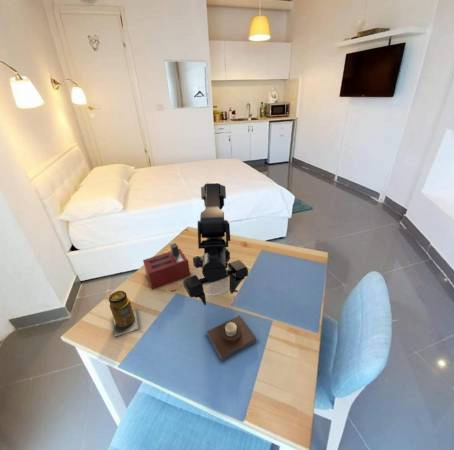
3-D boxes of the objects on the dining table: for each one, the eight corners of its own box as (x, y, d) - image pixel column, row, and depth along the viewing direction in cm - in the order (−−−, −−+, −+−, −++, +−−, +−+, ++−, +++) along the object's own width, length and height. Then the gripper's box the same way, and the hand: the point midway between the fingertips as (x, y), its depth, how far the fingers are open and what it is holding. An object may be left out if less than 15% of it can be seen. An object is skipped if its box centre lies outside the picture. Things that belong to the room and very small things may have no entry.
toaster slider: (176, 250, 108) (175, 243, 106) (179, 254, 106) (177, 246, 104) (171, 252, 107) (170, 244, 105) (173, 255, 105) (172, 248, 103)
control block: (239, 320, 85) (239, 311, 83) (256, 342, 78) (256, 333, 76) (207, 335, 80) (206, 327, 78) (221, 361, 73) (221, 353, 71)
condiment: (135, 310, 90) (127, 285, 84) (138, 328, 83) (130, 302, 77) (113, 318, 87) (103, 293, 81) (114, 337, 80) (104, 311, 75)
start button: (233, 324, 79) (233, 320, 78) (239, 333, 77) (238, 328, 76) (223, 329, 78) (222, 325, 77) (228, 338, 75) (228, 334, 74)
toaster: (182, 262, 114) (179, 248, 110) (190, 275, 106) (188, 259, 102) (146, 275, 107) (142, 259, 103) (152, 289, 99) (148, 273, 96)
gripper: (230, 235, 80) (232, 274, 87) (174, 252, 72) (180, 293, 79) (249, 252, 71) (249, 293, 79) (187, 274, 63) (193, 317, 71)
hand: (218, 298), depth 77 cm, fingers open, 9 cm apart
